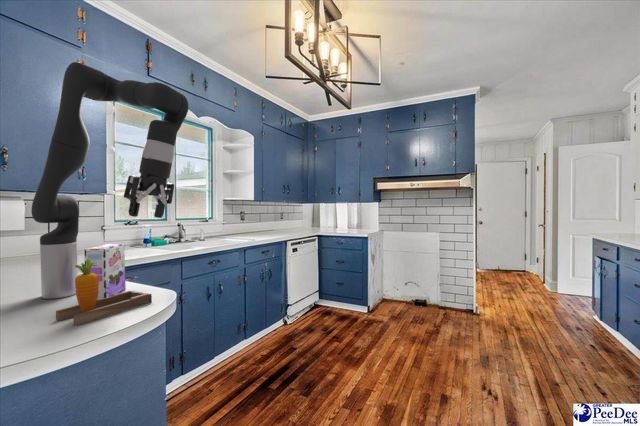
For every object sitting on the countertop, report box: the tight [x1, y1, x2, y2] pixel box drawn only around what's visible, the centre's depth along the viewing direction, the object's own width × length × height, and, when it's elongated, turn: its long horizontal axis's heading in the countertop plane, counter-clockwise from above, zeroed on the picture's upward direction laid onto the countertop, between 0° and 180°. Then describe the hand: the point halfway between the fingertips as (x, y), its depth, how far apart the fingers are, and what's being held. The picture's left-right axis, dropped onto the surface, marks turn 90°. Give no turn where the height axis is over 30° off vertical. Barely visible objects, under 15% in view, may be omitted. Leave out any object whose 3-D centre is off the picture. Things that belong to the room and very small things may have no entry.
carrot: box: [75, 259, 99, 312], centre depth 81 cm, size 5×5×15 cm
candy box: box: [84, 243, 127, 300], centre depth 101 cm, size 14×6×16 cm, turn 9°
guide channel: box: [55, 290, 153, 327], centre depth 86 cm, size 9×20×3 cm, turn 155°
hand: (146, 216), depth 85 cm, fingers open, 8 cm apart
